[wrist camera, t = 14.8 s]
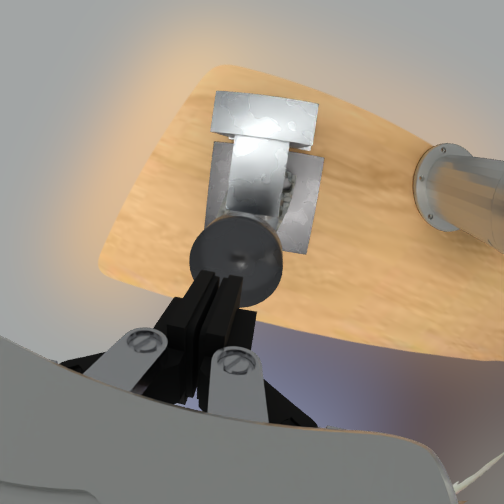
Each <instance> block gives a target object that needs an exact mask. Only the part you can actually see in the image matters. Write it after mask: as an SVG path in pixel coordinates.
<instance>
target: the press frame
mask: <svg viewBox="0 0 504 504" xmlns="http://www.w3.org/2000/svg"><path fill="white" fill-rule="evenodd" d="M318 105H319V104H316V103H311V102H306V101H300V100H294V99H288V98H281V97H274V96H267V95H258V94H249V93H239V92H227V91H216V96H215V103H214V110H213V117H212V124H211V131H210V132H214V133H217V134H221V135H224V136H228V137H229V139H232V140H234V144H233V143H224V142H214V147H213V155H212V163H211V171H210V180H209V189H208V198H207V208H206V218H205V228H206V227H207V226H208V225H209V224H210V223H211V222H212V221H214V220H215V219H216V217H217V214H218V211H219V208H220V206H221V204H222V201H223V199H224V197H225V194H226V192H227V189H228V193H227V201H226V209H225V210H232V211H239V212H245V213H252V214H258V215H264V216H271V217H277V218H278V214H279V208H280V202H281V196H282V191H284V190H287V191H289V190H290V188H291V184H290V183H289V181H288V178H287V176H285V171H288V172H290V173H292V174H293V175H296V176H297V178H296V183H295V187H294V191H293V195H292V199H291V203H290V206H289V208H288V210H287V213H286V215H285V216H284V218H283V221H282V223H281V225H280V227H279V229H278V231H277V232H276V233H277V235H278V237H279V239H280V242H281V245H282V251H287V252H293V253H300V254H306V253H307V248H308V244H309V239H310V234H311V229H312V224H313V219H314V214H315V208H316V203H317V198H318V192H319V187H320V181H321V175H322V169H323V163H324V158H323V157H318V156H312V155H307V154H301V153H296V152H290V151H289V147H290V148H295V149H301V150H307V151H310V150H311V146H313V139H314V133H315V126H316V119H317V112H318ZM205 228H204V229H205Z"/></svg>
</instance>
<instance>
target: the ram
mask: <svg viewBox="0 0 504 504" xmlns="http://www.w3.org/2000/svg"><path fill="white" fill-rule="evenodd" d="M278 219H279V214H278V218H277V217H271V216H264V215H258V214H252V213H245V212H239V211H232V210H230V213H228V214H225V215H222V216H220V217H218V218H216V219H215V220H214V221H212V222H211V223H210V224H209V225H208V226H207V227H206V228H205V229H204V230H203V231H202V233H201V234H200V235H199V236H198V237H197V239H196V240H195V242H194V244H193V246H192V249H191V252H190V270H191V274H192V277H193V279H194V280H195V278H196V277H197V275H198V274H199V272H200V271H201V270H205V271H211V272H215V276H219V277H220V282H219V286H220V284H221V282H222V279H223V277H225V278H228V277H229V275H234V276H240V277H243V284H242V291H241V299H240V306H239V308H242V307H249V306H253V305H256V304H258V303H260V302H262V301H264V300H265V299H267V298H268V297H269V296H270V295H271V294H272V293H273V292H274V291H275V289H276V288H277V286H278V284H279V282H280V279H281V276H282V270H283V256H282V245H281V242H280V239H279V237H278V235H277V233H276V229H277V226H278Z"/></svg>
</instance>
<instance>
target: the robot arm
mask: <svg viewBox="0 0 504 504" xmlns="http://www.w3.org/2000/svg"><path fill="white" fill-rule="evenodd" d="M441 149H442V151H441ZM419 177H420V179H419ZM413 189H414V198H415V202H416V205H417V208H418V210H419V212H420V214H421V215H422V217H423V218H424V219H425V221H426V222H427V223H428V224H430V225H431V226H433V227H434V228H436V229H438V230H441V231H445V232H453V231H457V230H459V229H461V230H463V231H465V232H466V233H468V234H470V235H472V236H474V237H475V238H477V239H479V240H481V241H482V242H484V243H486V244H488V245H489V246H491V247H493V248H494V249H496V250H498V251H499V252H501V253H502V254H504V161H501V160H494V159H487V158H478V157H473V156H472V155H471V154H470V153H469V152H468V151H467V150H466V149H464V148H462V147H461V146H459V145H456V144H448V143H445V144H439V145H436V146H434V147H432V148H431V149H429V150H428V151H427V152H426V153H425V154H424V155H423V157H422V158H421V160H420V161H419V163H418V166H417V168H416V172H415V176H414V185H413ZM428 215H429V217H428ZM219 282H220V277H219V276H215V272H211V271H205V270H201V271H200V272H199V274H198V275H197V277H196V278H195V280H194V282H193V283H192V285H191V286H190V288H189V289H188V291H187V293H186V294H185V296H184V297H183V298H179V297H174V298H173V300H172V301H171V303H170V304H169V306H168V307H167V309H166V310H165V312H164V313H163V314H162V316H161V318H160V319H159V320H158V322H157V323H156V325H155V327H154V328H153V329H152V328H136V329H133V330H131V331H129V332H127V333H126V334H125V335H124V336H123V337H122V338H121V339H119V340H118V341H117V342H116V343H115V344H114V345H113V346H112V347H111V348H110V349H109V350H108V351H107V352H103V353H99V354H95V355H90V356H86V357H82V358H76V359H72V360H67V361H64V362H62V363H60V364H58V363H57V361H54V360H50V359H47V358H45V357H42V356H41V355H38V354H36V353H34V352H32V351H30V350H29V349H27V348H24V347H22V346H20V345H18V344H16V343H14V342H12V341H10V340H8V339H6V338H4V337H2V336H0V504H458V501H457V498H456V494H455V491H454V489H453V486H452V483H451V481H450V478H449V476H448V474H447V472H446V470H445V468H444V466H443V464H442V463H441V461H440V459H439V458H438V457H437V455H436V454H435V453H434V452H433V451H432V450H431V449H430V448H428V447H427V446H425V445H423V444H421V443H419V442H416V441H414V440H411V439H407V438H404V437H400V436H396V435H391V434H385V433H378V432H370V431H360V430H346V429H341V428H336V427H332V426H327V427H326V428H320V427H318V426H317V424H316V423H315V422H314V421H313V420H312V419H311V418H310V417H309V416H307V415H306V414H305V413H304V412H302V411H301V410H300V409H299V408H298V407H296V406H295V405H294V404H293V403H291V402H290V401H289V400H288V399H287V398H285V397H284V396H283V395H282V394H281V393H279V392H278V391H277V390H276V389H275V388H274V387H272V386H271V385H270V384H269V383H268V382H267V381H265V380H264V379H263V373H262V364H261V361H260V358H259V357H258V356H257V355H256V354H255V353H254V352H252V351H251V346H252V340H253V333H254V327H255V321H256V314H257V312H255V311H249V310H243V309H239V306H240V299H241V291H242V284H243V277H240V276H234V275H229V277H228V278H225V277H223V279H222V282H221V284H220V286H219ZM196 388H197V399H199V407H200V409H201V410H202V411H198V410H194V409H189V408H185V407H181V406H177V405H173V404H176V403H179V404H184V405H185V404H186V401H187V398H188V397H191V398H193V397H194V394H195V391H196Z"/></svg>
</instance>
